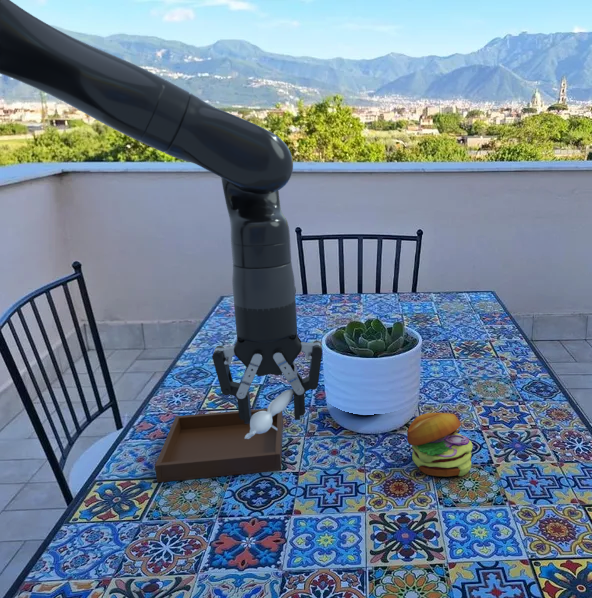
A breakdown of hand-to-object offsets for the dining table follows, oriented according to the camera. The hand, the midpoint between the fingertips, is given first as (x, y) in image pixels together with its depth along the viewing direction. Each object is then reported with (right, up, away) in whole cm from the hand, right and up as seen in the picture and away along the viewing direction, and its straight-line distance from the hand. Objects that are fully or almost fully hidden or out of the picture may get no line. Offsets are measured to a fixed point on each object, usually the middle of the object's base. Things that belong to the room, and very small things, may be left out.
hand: (273, 418), depth 75 cm
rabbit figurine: (0, -2, +1) cm, 2 cm away
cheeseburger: (+24, -12, +20) cm, 33 cm away
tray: (-13, -11, +25) cm, 30 cm away
